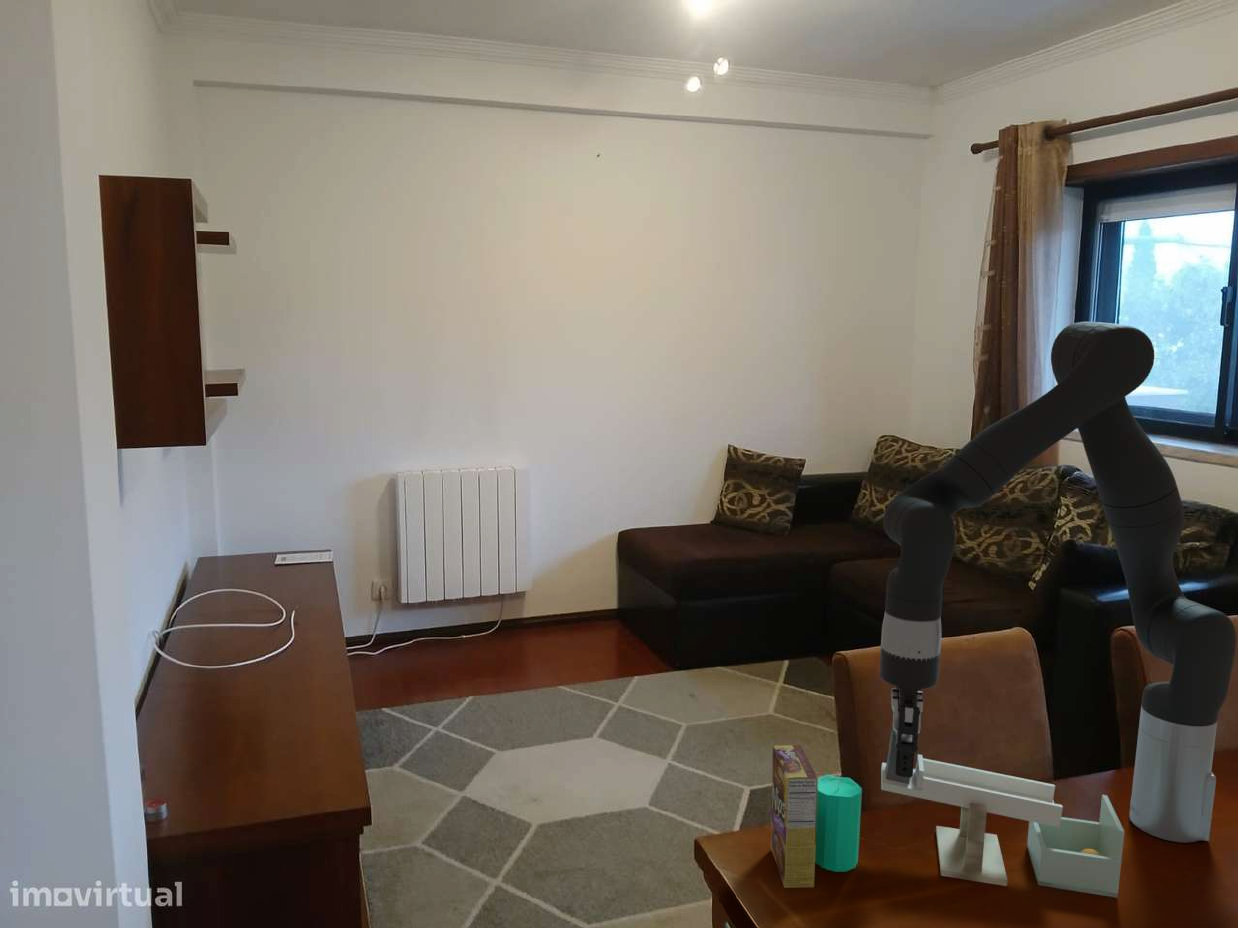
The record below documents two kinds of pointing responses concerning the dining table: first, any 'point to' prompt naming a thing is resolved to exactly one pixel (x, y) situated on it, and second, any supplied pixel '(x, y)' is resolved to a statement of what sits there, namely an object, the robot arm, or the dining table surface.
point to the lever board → (972, 788)
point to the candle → (837, 823)
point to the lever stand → (971, 849)
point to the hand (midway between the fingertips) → (902, 760)
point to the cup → (1064, 862)
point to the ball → (1090, 852)
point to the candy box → (794, 816)
